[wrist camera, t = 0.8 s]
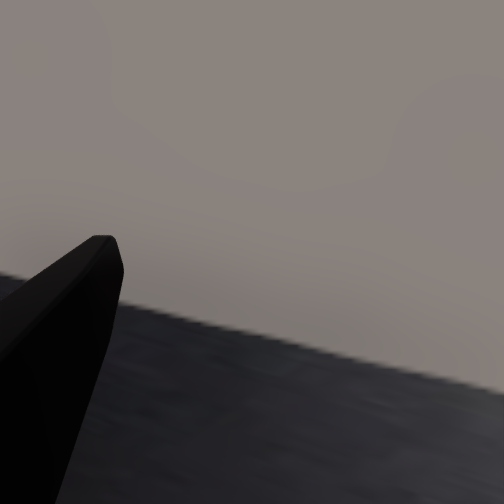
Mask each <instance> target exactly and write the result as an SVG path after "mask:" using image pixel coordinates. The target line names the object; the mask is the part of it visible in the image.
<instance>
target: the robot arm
mask: <svg viewBox="0 0 504 504" xmlns="http://www.w3.org/2000/svg"><path fill="white" fill-rule="evenodd" d="M123 276H124V268H123V263H122V259H121V255H120V252H119V249H118V245H117V242H116V239H115V238H114V237H113V236H111V235H95V236H92V237H91V238H89V239H87V240H86V241H85V242H83V243H82V244H80V245H79V246H78V247H76V248H75V249H73V250H72V251H70V252H69V253H67V254H66V255H64V256H63V257H62V258H60V259H59V260H57V261H56V262H55V263H53V264H51V265H50V266H49V267H47V268H46V269H44V270H43V271H41V272H40V273H38V274H37V275H36V276H34V277H33V278H31V279H30V280H28V281H27V282H25V283H24V284H23V285H21V286H20V287H18V288H17V289H15V290H14V291H13V292H11V293H10V294H8V295H7V296H5V297H4V298H2V299H1V300H0V504H55V502H56V499H57V496H58V493H59V490H60V487H61V484H62V481H63V478H64V475H65V472H66V469H67V466H68V463H69V460H70V457H71V455H72V452H73V449H74V446H75V443H76V440H77V437H78V434H79V431H80V428H81V425H82V422H83V419H84V416H85V413H86V410H87V407H88V404H89V401H90V398H91V395H92V392H93V389H94V386H95V384H96V381H97V378H98V375H99V372H100V369H101V366H102V363H103V360H104V357H105V354H106V351H107V348H108V345H109V341H110V338H111V334H112V330H113V325H114V320H115V315H116V310H117V306H118V301H119V295H120V291H121V286H122V281H123Z"/></svg>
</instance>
